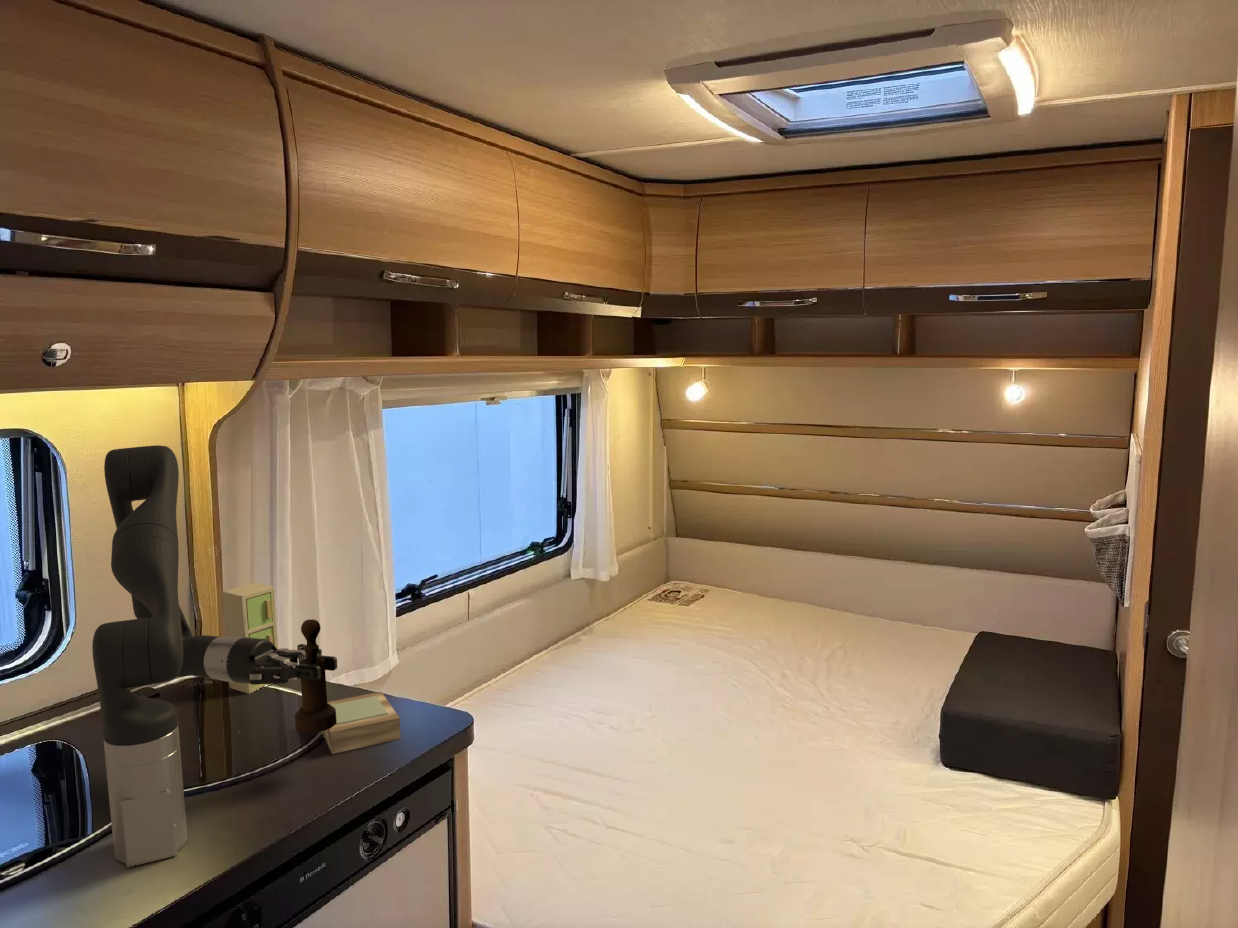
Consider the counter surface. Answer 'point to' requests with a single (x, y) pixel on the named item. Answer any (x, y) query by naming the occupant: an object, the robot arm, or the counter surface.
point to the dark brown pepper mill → (314, 688)
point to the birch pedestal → (362, 723)
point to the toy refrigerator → (250, 618)
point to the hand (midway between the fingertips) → (327, 668)
